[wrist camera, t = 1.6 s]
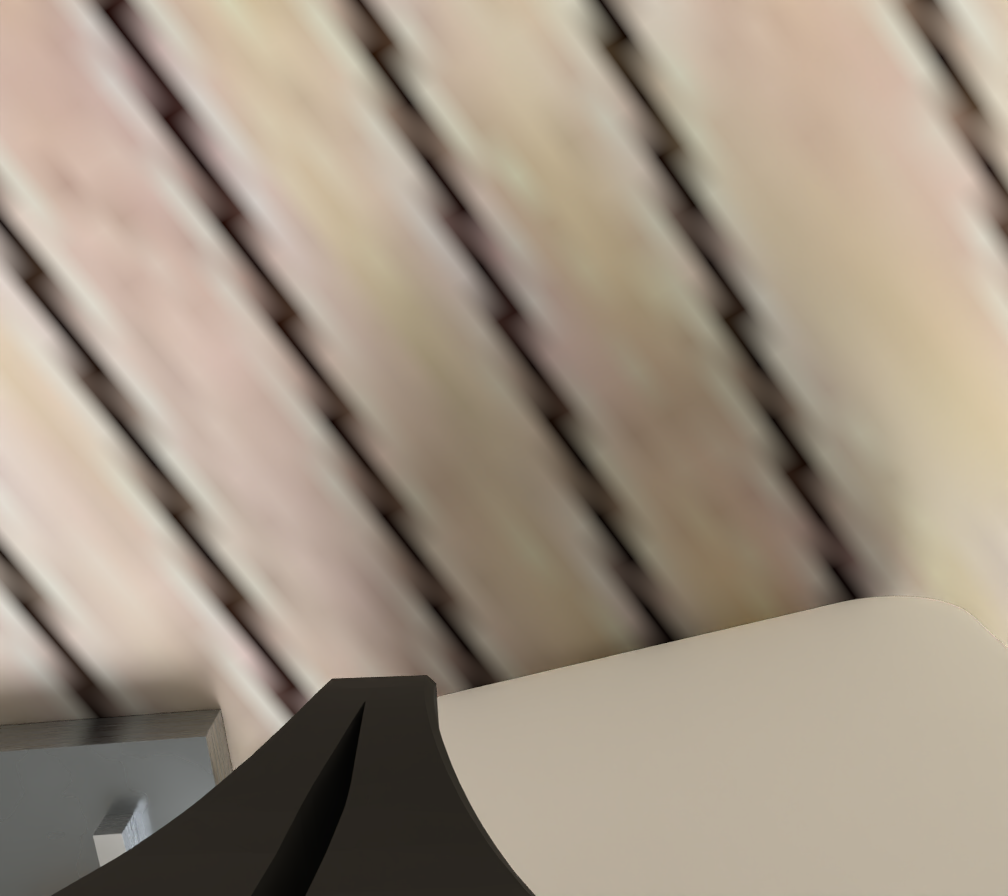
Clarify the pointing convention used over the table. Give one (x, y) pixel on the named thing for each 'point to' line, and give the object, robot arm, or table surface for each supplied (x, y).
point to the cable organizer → (754, 760)
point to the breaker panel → (97, 790)
